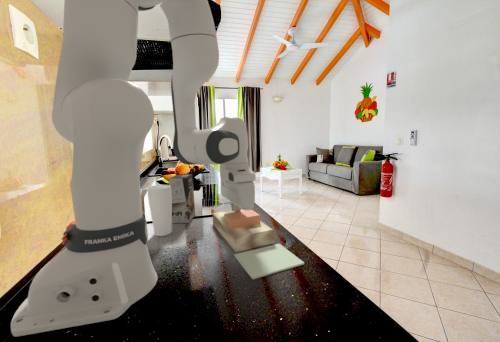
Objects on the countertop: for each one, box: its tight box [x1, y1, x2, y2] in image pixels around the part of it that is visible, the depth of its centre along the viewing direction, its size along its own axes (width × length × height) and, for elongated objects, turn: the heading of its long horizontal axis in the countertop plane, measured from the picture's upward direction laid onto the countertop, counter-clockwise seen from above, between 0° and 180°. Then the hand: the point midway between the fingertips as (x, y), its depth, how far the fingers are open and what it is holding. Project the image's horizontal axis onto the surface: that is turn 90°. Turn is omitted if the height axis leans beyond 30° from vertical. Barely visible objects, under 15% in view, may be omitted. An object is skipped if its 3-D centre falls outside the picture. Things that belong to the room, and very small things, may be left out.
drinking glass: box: [147, 184, 173, 237], centre depth 73 cm, size 7×7×15 cm
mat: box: [233, 243, 305, 280], centre depth 56 cm, size 13×11×1 cm
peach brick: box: [224, 209, 261, 229], centre depth 70 cm, size 9×6×2 cm, turn 114°
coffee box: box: [168, 173, 196, 224], centre depth 86 cm, size 9×6×16 cm
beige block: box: [212, 209, 274, 253], centre depth 72 cm, size 11×22×4 cm, turn 24°
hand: (236, 215), depth 74 cm, fingers closed
